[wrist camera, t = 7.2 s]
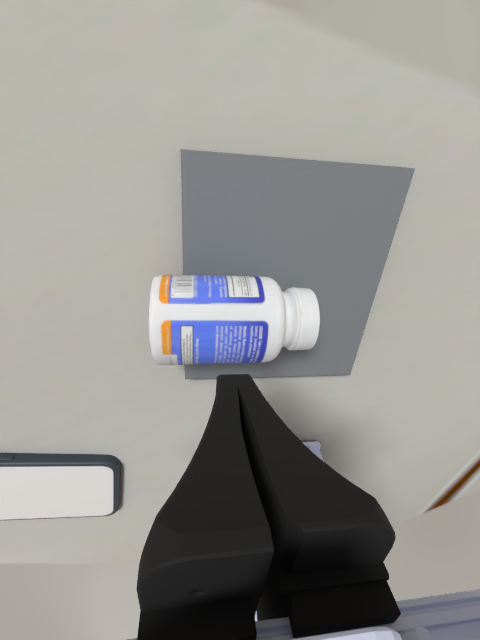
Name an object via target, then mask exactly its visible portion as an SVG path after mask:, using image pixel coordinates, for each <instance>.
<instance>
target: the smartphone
mask: <svg viewBox="0 0 480 640" xmlns="http://www.w3.org/2000/svg"><path fill="white" fill-rule="evenodd" d="M120 466H121V464H120V461H119V459H118V458H116V457H114V456H112V455H95V454H36V453H0V520H23V519H47V518H71V517H95V516H109V515H112V514H114V513H115V512H116V511H117V510H118V507H119V502H120Z"/></svg>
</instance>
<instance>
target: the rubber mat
mask: <svg viewBox="0 0 480 640" xmlns="http://www.w3.org/2000/svg"><path fill="white" fill-rule="evenodd" d="M414 170H415V169H413V168H402V167H390V166H378V165H365V164H353V163H341V162H329V161H316V160H304V159H292V158H279V157H267V156H255V155H242V154H230V153H218V152H206V151H193V150H181V177H182V234H183V275H205V276H258V277H269V278H272V279H273V280H275V281H276V282H277V283H278V285H279V286H280V288H281V291H282V292H285V291H286V290H287V289H288V288H292V287H296V288H309V289H311V290H312V291H313V292H314V293H315V295H316V298H317V301H318V305H319V313H320V327H319V333H318V338H317V341H316V343H315V345H314V346H313V348H311V349H309V350H288V349H287V348H286V347H282V348H281V351H280V352H279V354H278V356H277V357H276V358H275V359H273V360H272V361H269V362H256V363H218V364H185V379H213V378H217V376H219V375H222V374H249V375H250V376H251V377H288V376H326V375H350V373H351V370H352V367H353V364H354V361H355V357H356V354H357V351H358V348H359V345H360V342H361V338H362V335H363V332H364V329H365V326H366V322H367V319H368V316H369V313H370V310H371V306H372V303H373V300H374V297H375V294H376V291H377V287H378V284H379V281H380V278H381V275H382V271H383V268H384V265H385V262H386V259H387V256H388V252H389V249H390V246H391V243H392V240H393V236H394V233H395V230H396V227H397V224H398V221H399V217H400V214H401V211H402V208H403V205H404V201H405V198H406V195H407V192H408V189H409V186H410V182H411V179H412V176H413V173H414Z"/></svg>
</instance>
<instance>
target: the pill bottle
mask: <svg viewBox="0 0 480 640" xmlns="http://www.w3.org/2000/svg"><path fill="white" fill-rule="evenodd" d="M319 327H320V313H319V305H318V301H317V298H316V295H315V293H314V292H313V291H312V290H311V289H309V288H296V287H292V288H288V289H287V290H286V291H285V292H282V291H281V288H280V286H279V285H278V283H277V282H276V281H275V280H273V279H272V278H269V277H258V276H205V275H161V276H156V277H155V278H154V279H153V281H152V285H151V292H150V304H149V339H150V348H151V353H152V357H153V360H154V362H155V363H156V364H159V365H183V364H218V363H256V362H269V361H272V360H273V359H275V358H276V357H277V356H278V354H279V352H280V351H281V348H282V347H286V348H287V349H288V350H309V349H311V348H313V346H314V345H315V343H316V341H317V338H318V333H319Z"/></svg>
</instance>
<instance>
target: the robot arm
mask: <svg viewBox="0 0 480 640" xmlns="http://www.w3.org/2000/svg"><path fill="white" fill-rule="evenodd" d="M320 449H321V444H320V442H318V441H311V442H301V441H300V440H299V439H298V438H297V437H296V436H295V435H294V434H293V432H292V431H291V430H290V429H289V428H288V427H287V426H286V425H285V423H284V422H283V421H282V420H281V419H280V418H279V416H278V415H277V414H276V413H275V411H274V410H273V409H272V407H271V406H270V405H269V403H268V402H267V401H266V399H265V398H264V396H263V395H262V393H261V392H260V390H259V389H258V387H257V386H256V384H255V382H254V381H253V379H252V377H251V376H250V375H249V374H222V375H219V376H217V384H216V396H215V401H214V405H213V408H212V412H211V415H210V418H209V421H208V424H207V426H206V429H205V432H204V434H203V437H202V439H201V441H200V443H199V446H198V448H197V450H196V452H195V454H194V456H193V458H192V460H191V462H190V464H189V466H188V467H187V469H186V471H185V473H184V474H183V476H182V478H181V479H180V481H179V483H178V484H177V486H176V488H175V489H174V491H173V492H172V494H171V495H170V497H169V498H168V500H167V501H166V503H165V504H164V505H163V507H162V508H161V510H160V511H159V513H158V514H157V516H156V518H155V520H154V523H153V525H152V528H151V530H150V532H149V535H148V538H147V540H146V543H145V546H144V549H143V552H142V555H141V559H140V564H139V572H138V581H137V593H138V599H139V604H140V610H141V612H140V621H139V629H138V638H135V639H128V640H480V589H479V590H472V591H465V592H458V593H451V594H444V595H437V596H430V597H424V598H417V599H410V600H402V601H395V599H394V597H393V594H392V592H391V590H390V587H389V585H388V583H387V580H388V579H389V574H388V572H387V569H386V567H385V565H384V563H383V561H384V560H385V558H386V556H387V555H388V553H389V551H390V550H391V548H392V546H393V543H394V541H395V532H394V530H393V528H392V526H391V524H390V522H389V520H388V518H387V516H386V515H385V513H384V511H383V510H382V508H381V507H380V505H379V504H378V502H377V500H376V499H375V498H374V497H373V496H371V495H370V494H368V493H366V492H365V491H363V490H362V489H360V488H359V487H357V486H356V485H354V484H353V483H351V482H350V481H348V480H347V479H345V478H344V477H343V476H341V475H340V474H339V473H337V472H336V471H335V470H333V469H332V468H331V467H329V466H328V465H327V464H326V463H325V462H324V459H323V457H322V454H321V452H320Z"/></svg>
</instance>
